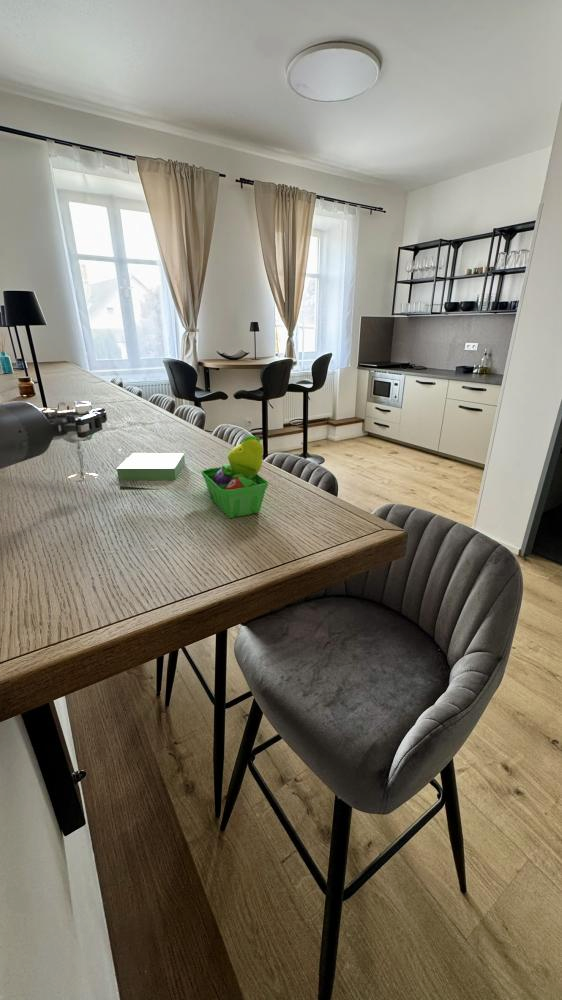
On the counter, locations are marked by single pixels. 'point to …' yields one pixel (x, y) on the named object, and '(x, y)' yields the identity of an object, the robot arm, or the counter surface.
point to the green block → (150, 467)
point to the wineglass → (73, 439)
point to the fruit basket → (238, 480)
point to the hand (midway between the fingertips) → (85, 413)
